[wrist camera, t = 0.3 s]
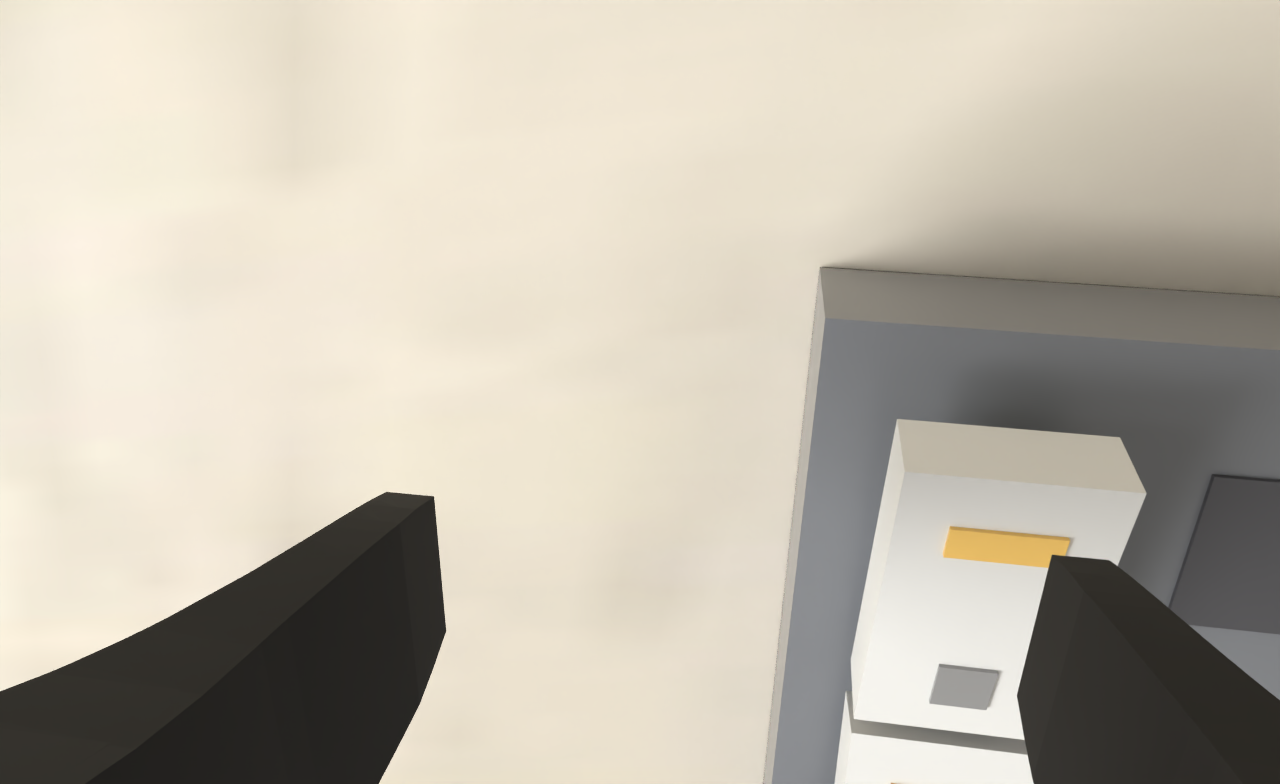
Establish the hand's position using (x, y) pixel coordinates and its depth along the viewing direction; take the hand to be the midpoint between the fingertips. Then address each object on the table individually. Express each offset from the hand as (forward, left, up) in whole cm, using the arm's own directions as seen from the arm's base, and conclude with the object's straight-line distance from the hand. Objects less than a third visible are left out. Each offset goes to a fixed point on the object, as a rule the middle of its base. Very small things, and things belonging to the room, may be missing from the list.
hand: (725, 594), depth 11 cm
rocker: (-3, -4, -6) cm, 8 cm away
